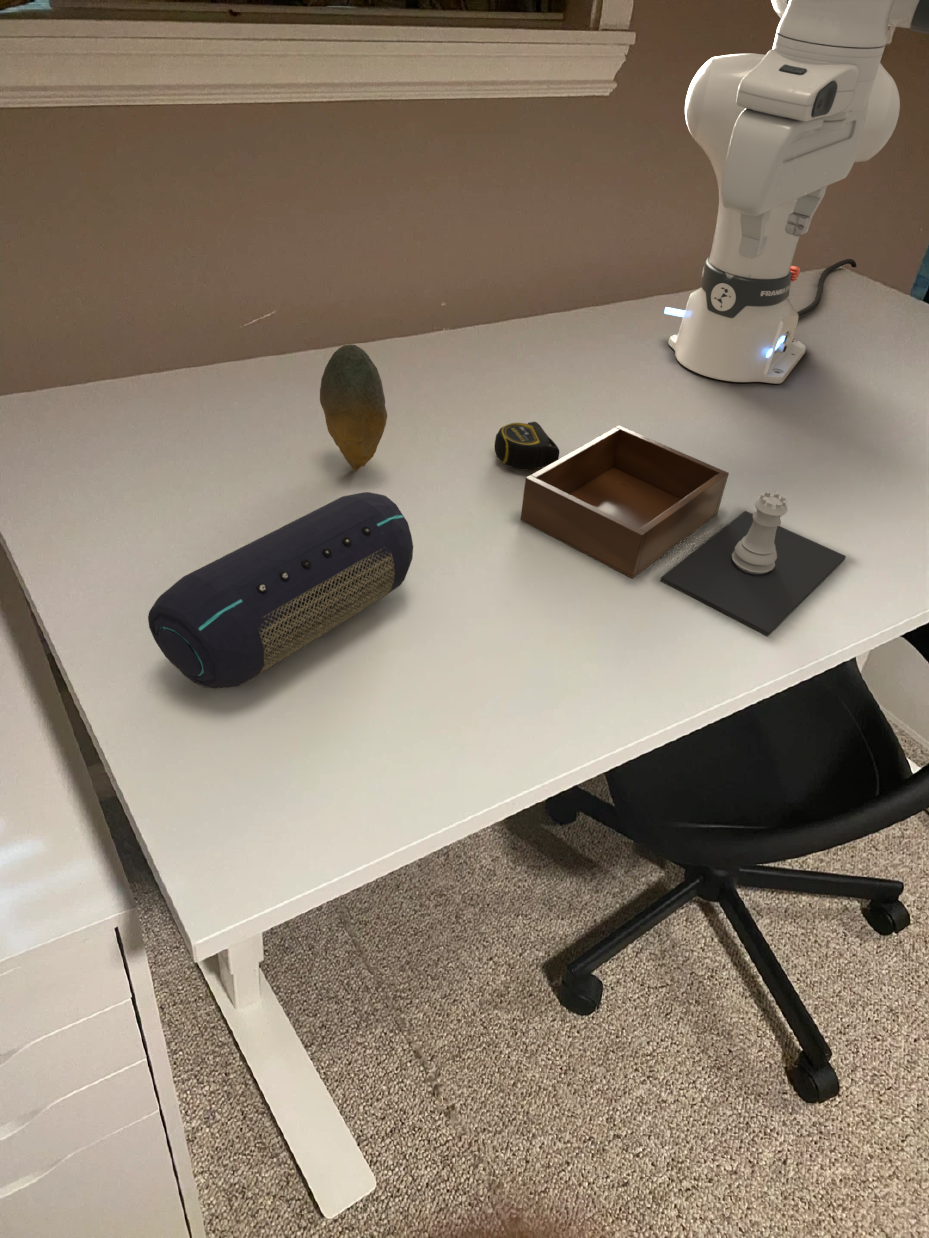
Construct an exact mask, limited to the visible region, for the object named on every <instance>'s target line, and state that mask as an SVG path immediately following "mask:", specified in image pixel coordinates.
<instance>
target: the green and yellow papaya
mask: <svg viewBox="0 0 929 1238" xmlns="http://www.w3.org/2000/svg"><path fill="white" fill-rule="evenodd" d="M323 370H324V372H323V374H322V376H321V381H320V387H319V404H320V406H321V408H322V410H323V411H322V412H323V414H324V417H325V418H324V419H325V424H326V429H327V431H328V433H329V436H330V438H332V440H333V441H334V444H335V445H336V446H337V447H338V448H339V452H340V453H341V454H342V456H343V457H344V459H345V460H346V462H347V463H348V464H349V465H350V467H351V469H352V470H353V471H354V472H355V473H356V472H358V470H359V469H360V468H361V467H365V466H366V465H367V464H368V462H370V461H371V460H372V458H374V455H375V453H376V452H377V450H378V449H377V448H378V446H379V444H380V443H381V439H382V437H383V434H384V431H385V428H386V427H387V426H386V425H387V421H388V420H387V419H388V411H387V407H386V397H385V393H384V387H383V381H382V378H381V376H380V373H379V370H378V367H377V366H376V365H375V363H374V362H373V360H372V359H371V357H370V356H369V354H368V353H367V352H366V351H365V349H363V348H361V347H360V346H358V345H356V344H344V345H342V346H341V347H339V348H338V349H337V350H335V351H334V352H333V354H332V355H331V357H330V359H329V360H328V362H327V364H326V365H325V367H324V369H323Z"/></svg>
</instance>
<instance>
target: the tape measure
mask: <svg viewBox="0 0 929 1238" xmlns="http://www.w3.org/2000/svg"><path fill="white" fill-rule="evenodd" d="M494 453H495V455H496V457H497V459H498V460H499V461H500V462H502V464H504V465H505V466H507V467H510V468H512V469H516V470H520V471H521V470H523V471H534V470H538V469H542V468H544V467H546V466H548V465H549V464H551V463H553V462H555V461H556V460H558V459H560V449H559V446H558V445H557V444H556V443H555V442H554V440H553V439H552V438H551V437H549V435H548V434H547V433H546V432H545V430H544V428H543V427H542V426H541V425H540V424H539V422H536V421H530V422H527V423H526V422H525V423H523V422H511V423H508V424H505V425H503V426H502V427H500V428H499V430H498V431H497V433H496V435H495V439H494Z"/></svg>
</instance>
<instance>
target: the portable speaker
mask: <svg viewBox="0 0 929 1238" xmlns="http://www.w3.org/2000/svg"><path fill="white" fill-rule="evenodd" d="M413 554H414V543H413V537H412V532H411V529H410V526H409V522H408V521H407V519H406V518H405V516H404V515H403V512H402V511H401V509H400V508H399V507H398V505H397V504H396V503H395V502H394V501H393V500H391V499H390V498H389V497H388V496H387V495H384V494H380V493H377V492H376V493H375V492H370V491H365V492H359V493H353V494H349V495H344V496H341V497H338V498H336V499H335V500H332V501H331V502H329V503H327V504H324V505H322V506H321V507H318V508H317V509H314V510H312V511H311V512H309V513H307V514H305V515H303V516H301V517H299V518H297V519H295V520H293V521H291V522H288V523H287V524H285V525H283V526H281V527H279V528H277V529H275V530H273V531H271V532H269V533H268V534H265V535H263V536H261V537H259V538H257V539H255V540H253V541H251V542H249V543H247V544H245V545H243V546H242V547H240V548H237V549H235V550H233V551H232V552H229V553H228V554H225V555H224V556H222V557H220V558H217V559H216V560H214V561H212V562H210V563H208V564H205V565H204V566H202V567H199V568H198V569H195V570H194V571H192V572H189V573H188V574H186V575H183V576H182V577H181V578H179V579H178V580H177V581H176V582H175V583H173V585H171V586H170V587H169V588H168V589H167V590H165V591H164V592H163V593H162V594H160V595H159V597H157V599H156V601H155V602H154V603H153V604H152V607H151V608H150V609H149V611H148V615H147V621H148V628H149V630H150V633H151V636H152V638H153V640H154V642H155V644H156V645H157V646H158V648H159V649H160V651H161V652H162V654H163V656H164V657H165V658H166V659H167V660H168V661H169V662H170V663H171V664H172V665H173V666H174V667H175V668H176V669H177V670H178V671H179V672H180V673H181V674H182V675H183V676H185V677H186V678H187V679H188V680H190V681H191V682H193V683H194V684H196V685H199V686H202V687H204V688H207V689H212V690H213V689H225V688H235V687H239V686H241V685H243V684H245V683H246V682H248V681H250V680H252V679H254V678H255V677H257V676H258V675H260V674H262V673H263V672H264V671H266V670H268V669H269V668H271V667H273V666H275V665H276V664H278V663H279V662H281V661H282V660H284V659H286V658H287V657H289V656H290V655H292V654H293V653H295V652H297V651H298V650H300V649H301V648H303V647H305V646H307V645H308V644H310V643H311V642H313V641H314V640H316V639H318V638H319V637H321V636H323V635H324V634H326V633H328V631H330V630H332V629H334V628H336V627H337V626H338V625H340V624H342V623H344V622H345V621H346V620H349V619H350V618H351V617H353V616H355V615H357V614H358V613H359V612H361V611H363V610H364V609H366V608H368V607H369V606H370V605H373V604H374V603H375V602H378V601H379V600H380V599H382V598H385V597H386V596H387V595H389V594H390V593H392V592H393V591H394V590H396V589H397V588H399V587H401V585H402V584H403V582H404V581H405V579H406V577H407V575H408V572H409V569H410V566H411V564H412V561H413V556H414V555H413Z"/></svg>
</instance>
